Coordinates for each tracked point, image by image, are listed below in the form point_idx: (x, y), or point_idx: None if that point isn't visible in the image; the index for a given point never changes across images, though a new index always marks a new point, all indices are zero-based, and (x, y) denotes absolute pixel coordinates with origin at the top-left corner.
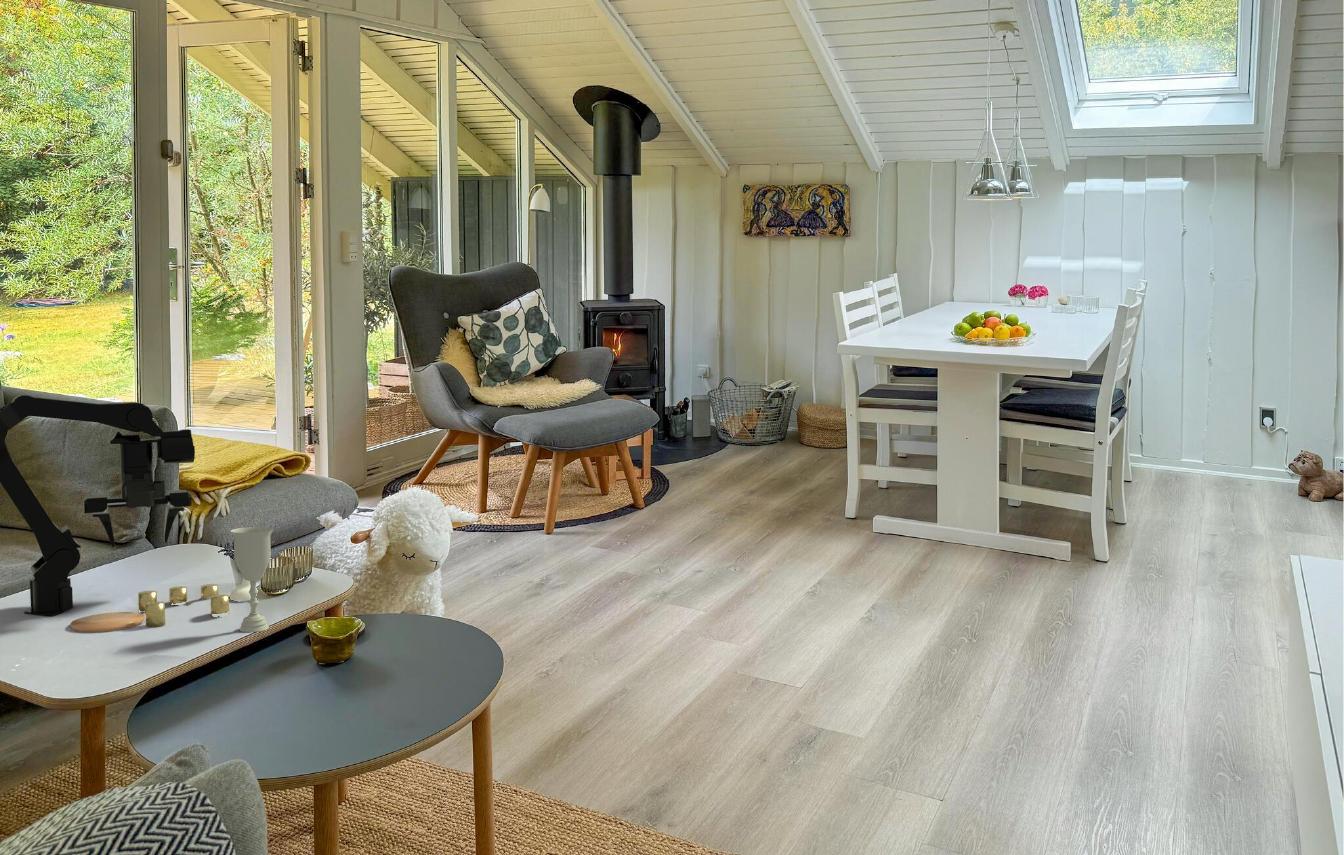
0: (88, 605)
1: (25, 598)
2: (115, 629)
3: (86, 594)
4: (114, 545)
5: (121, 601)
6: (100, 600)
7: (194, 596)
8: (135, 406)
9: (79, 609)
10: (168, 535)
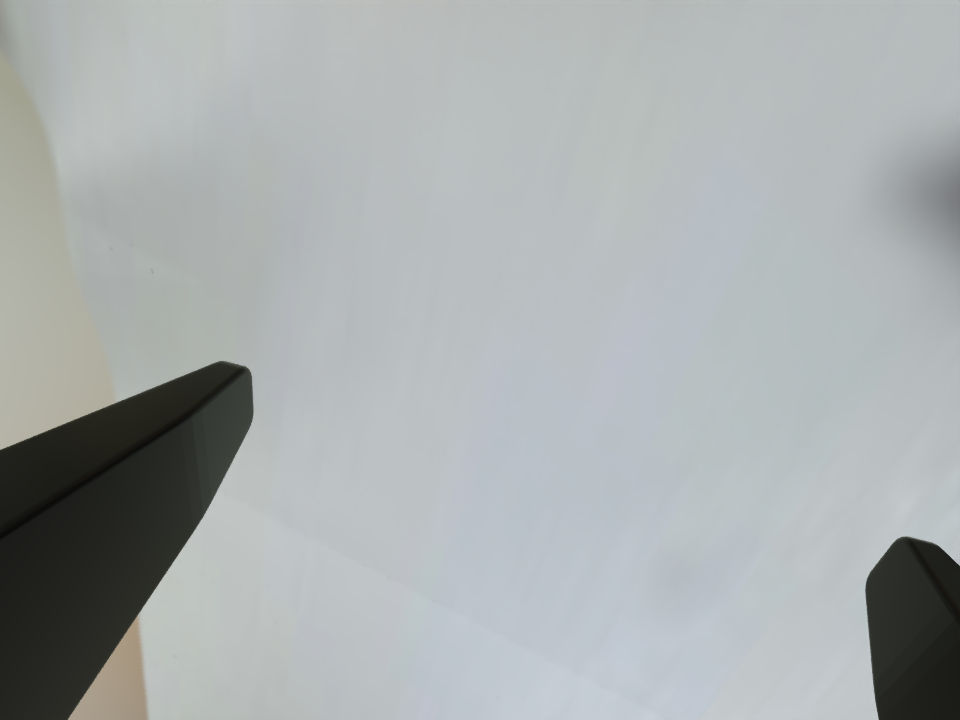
0: (840, 403)
1: None
2: None
3: (715, 612)
4: (914, 546)
5: (654, 373)
6: (728, 468)
7: (276, 214)
8: None
9: (943, 340)
10: (135, 399)
